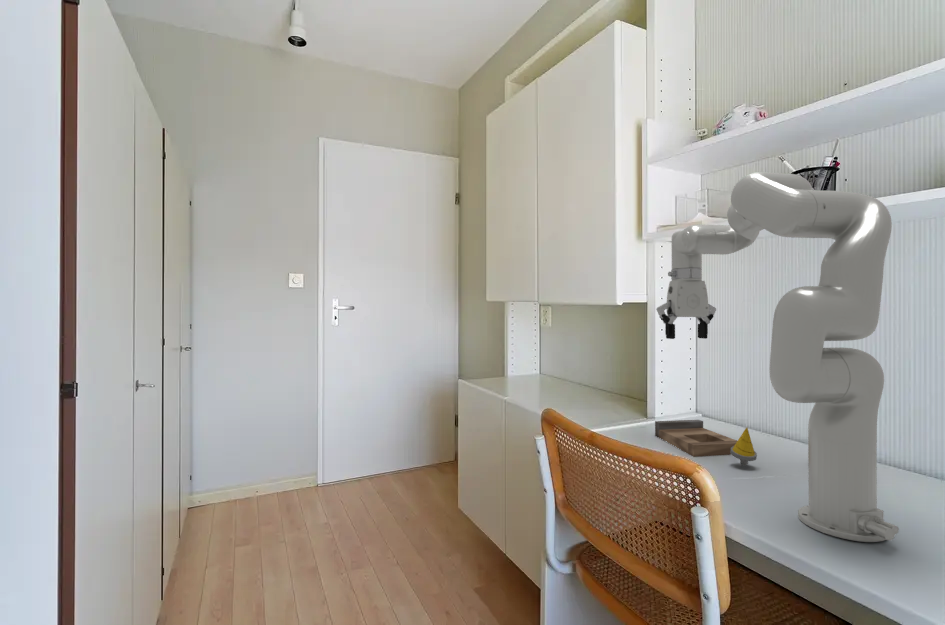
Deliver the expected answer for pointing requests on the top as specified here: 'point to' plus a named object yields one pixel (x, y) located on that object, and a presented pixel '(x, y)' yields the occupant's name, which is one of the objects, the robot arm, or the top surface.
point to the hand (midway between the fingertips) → (686, 338)
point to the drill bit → (744, 449)
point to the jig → (694, 438)
